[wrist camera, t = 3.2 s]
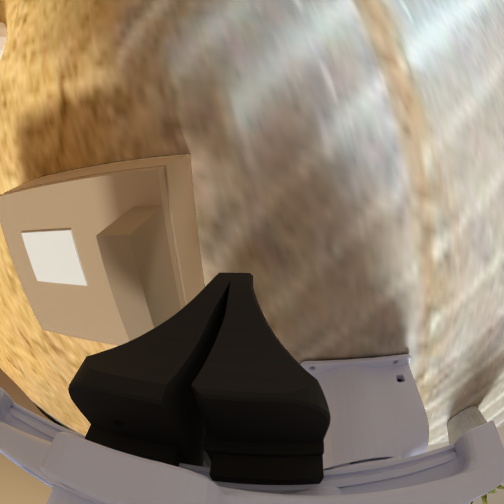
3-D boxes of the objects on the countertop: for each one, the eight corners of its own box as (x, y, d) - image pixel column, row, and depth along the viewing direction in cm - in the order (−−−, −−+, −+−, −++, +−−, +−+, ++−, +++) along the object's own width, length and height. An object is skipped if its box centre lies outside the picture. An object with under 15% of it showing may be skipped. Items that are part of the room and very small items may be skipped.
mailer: (189, 153, 14) (166, 165, 11) (207, 306, 19) (195, 343, 16) (37, 177, 15) (3, 193, 12) (71, 295, 20) (48, 322, 17)
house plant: (467, 433, 29) (487, 506, 15) (403, 451, 30) (418, 538, 16) (514, 381, 23) (550, 465, 8) (449, 400, 24) (483, 512, 9)
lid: (163, 166, 11) (121, 189, 8) (194, 347, 15) (178, 397, 12) (0, 194, 12) (-40, 216, 9) (46, 324, 16) (21, 356, 13)
